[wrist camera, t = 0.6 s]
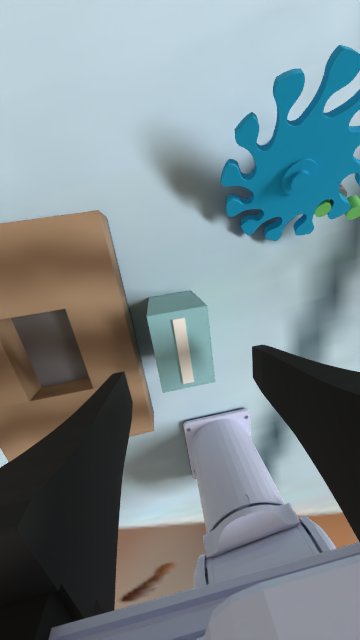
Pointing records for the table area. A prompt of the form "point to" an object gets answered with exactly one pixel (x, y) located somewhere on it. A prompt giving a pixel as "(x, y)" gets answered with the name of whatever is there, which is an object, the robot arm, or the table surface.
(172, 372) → the teal striped block
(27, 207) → the table surface
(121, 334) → the keyed socket
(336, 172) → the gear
